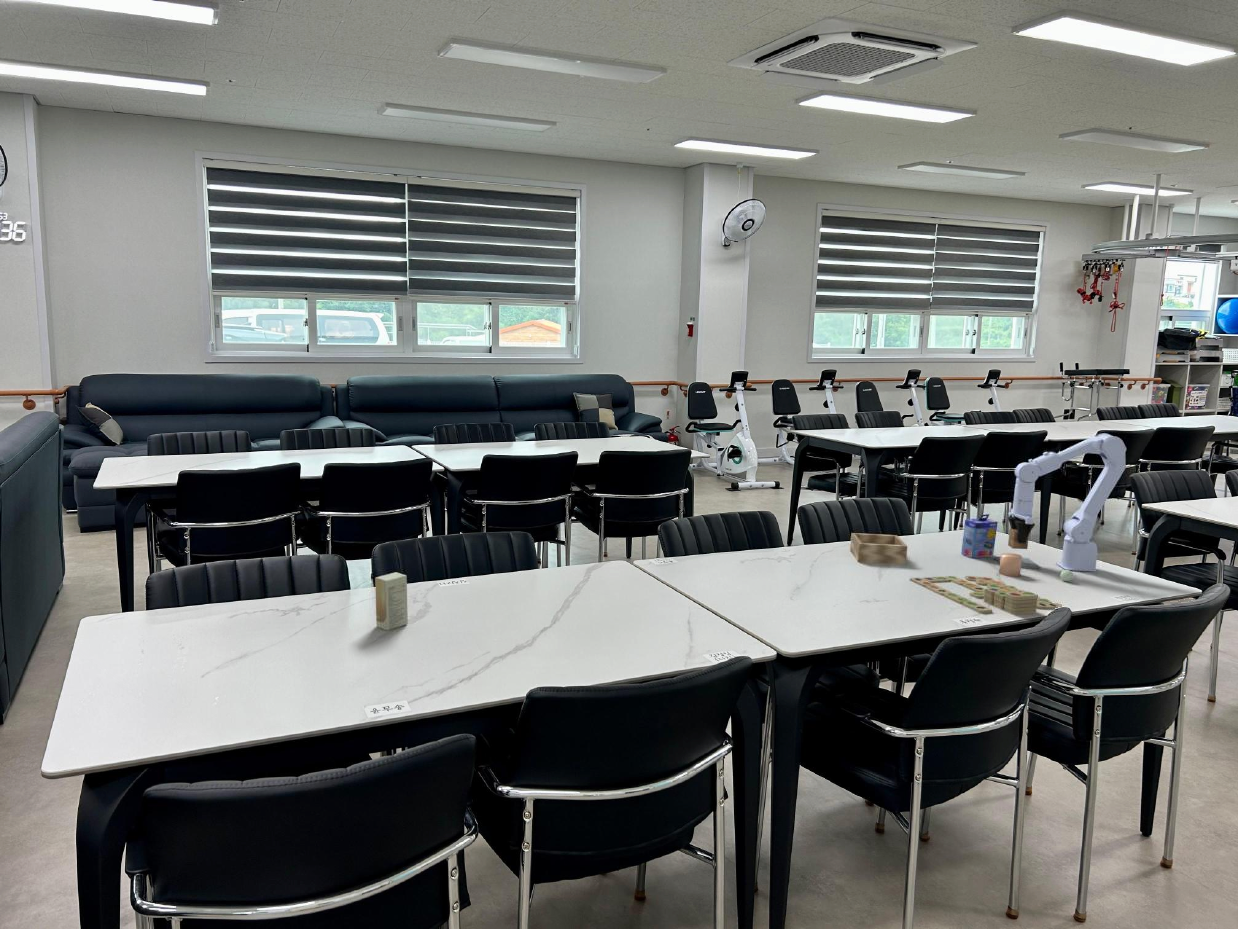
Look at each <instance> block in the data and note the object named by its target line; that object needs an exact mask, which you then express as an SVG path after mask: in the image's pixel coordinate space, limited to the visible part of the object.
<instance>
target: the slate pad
mask: <svg viewBox="0 0 1238 929" xmlns="http://www.w3.org/2000/svg"><path fill="white" fill-rule="evenodd" d="M993 559H994V560H995V561H996V562H998V563H999V564H1000V559H1001V556H997V555H995V556H994V555H993ZM1041 568H1042V566H1040V565H1038V564H1037V563H1036V562H1034V561H1033V560H1031V558H1029V557H1028V558H1027V557H1022V562H1021V569H1033V570H1034V569H1035V570H1038V569H1039V570H1041Z"/></svg>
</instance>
